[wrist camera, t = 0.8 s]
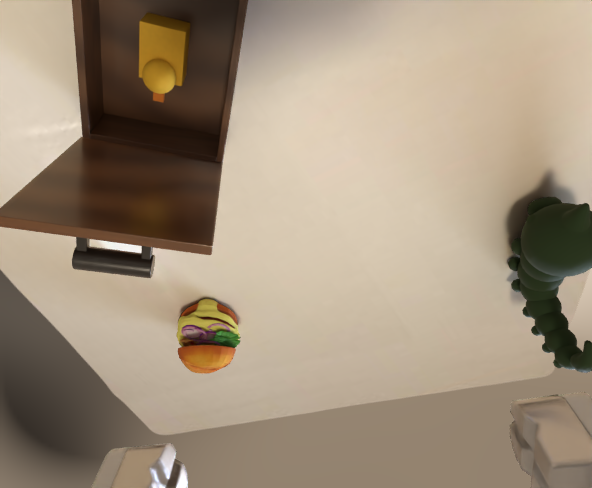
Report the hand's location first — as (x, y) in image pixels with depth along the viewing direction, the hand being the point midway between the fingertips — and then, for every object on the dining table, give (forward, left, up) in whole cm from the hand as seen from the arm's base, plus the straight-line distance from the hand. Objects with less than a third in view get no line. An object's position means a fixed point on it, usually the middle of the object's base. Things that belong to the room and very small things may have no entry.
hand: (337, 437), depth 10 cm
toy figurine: (+20, +43, -41) cm, 63 cm away
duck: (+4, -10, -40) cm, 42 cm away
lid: (+12, -10, -27) cm, 31 cm away
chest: (+5, -10, -41) cm, 43 cm away
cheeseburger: (+46, -1, -41) cm, 62 cm away
